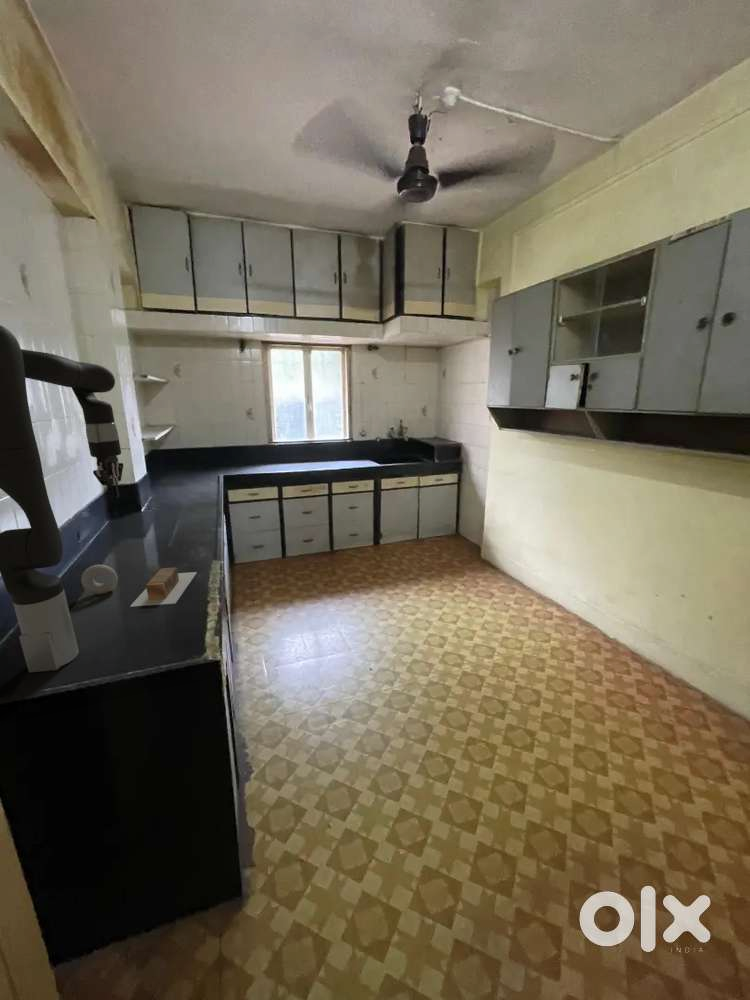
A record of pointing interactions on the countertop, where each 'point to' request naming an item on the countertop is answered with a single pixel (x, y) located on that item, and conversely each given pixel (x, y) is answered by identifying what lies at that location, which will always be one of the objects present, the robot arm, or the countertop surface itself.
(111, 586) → the donut
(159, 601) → the grey mat
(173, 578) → the walnut block
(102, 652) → the countertop surface
